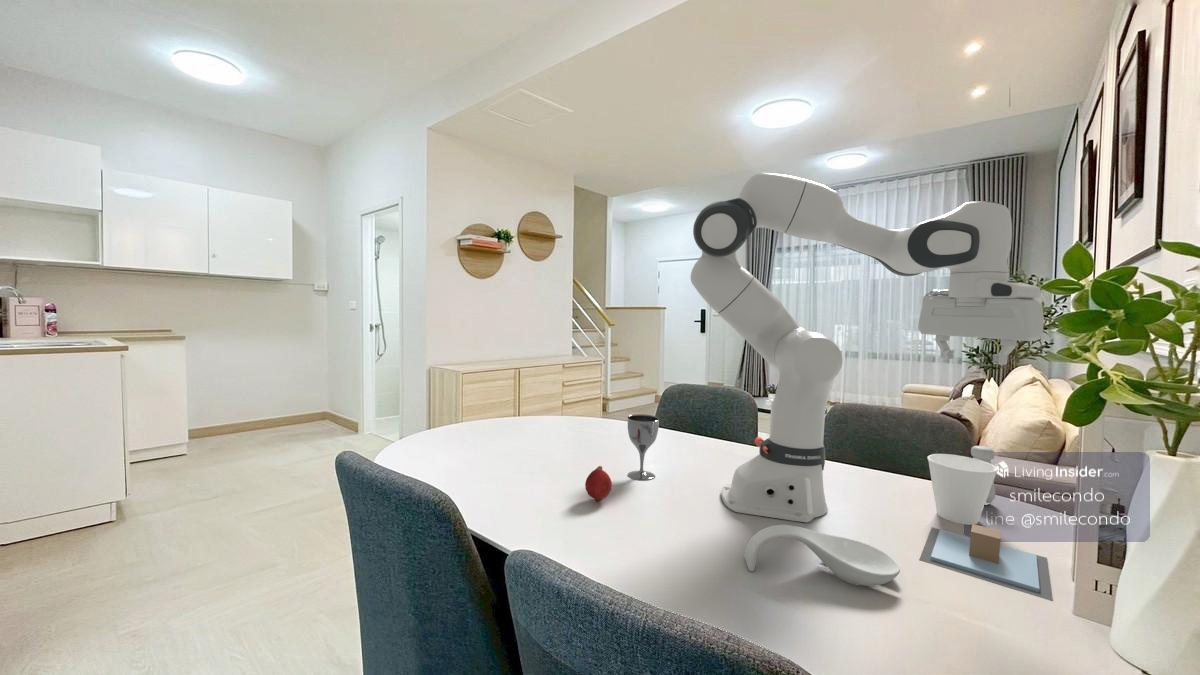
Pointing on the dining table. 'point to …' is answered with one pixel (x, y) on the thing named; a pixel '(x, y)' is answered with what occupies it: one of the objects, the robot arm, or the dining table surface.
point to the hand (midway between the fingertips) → (971, 361)
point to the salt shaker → (986, 456)
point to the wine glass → (642, 440)
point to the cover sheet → (1003, 572)
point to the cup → (960, 486)
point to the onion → (598, 484)
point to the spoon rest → (832, 554)
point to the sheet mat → (1042, 575)
